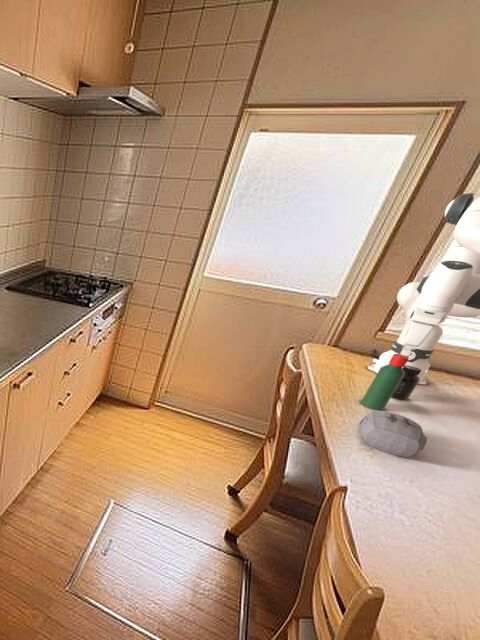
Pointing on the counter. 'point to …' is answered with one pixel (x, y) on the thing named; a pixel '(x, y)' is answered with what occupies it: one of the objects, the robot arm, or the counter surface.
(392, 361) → the cap
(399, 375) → the bottle
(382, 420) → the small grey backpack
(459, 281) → the robot arm
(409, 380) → the supplement bottle
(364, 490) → the counter surface
